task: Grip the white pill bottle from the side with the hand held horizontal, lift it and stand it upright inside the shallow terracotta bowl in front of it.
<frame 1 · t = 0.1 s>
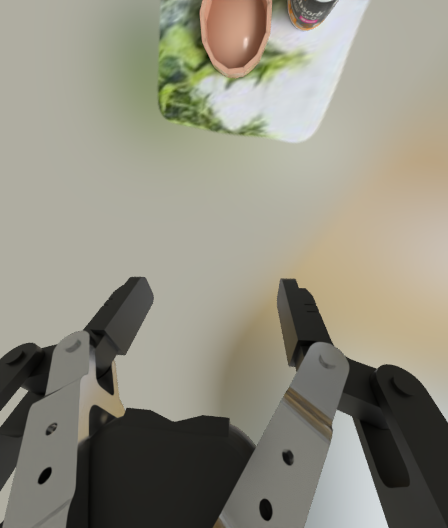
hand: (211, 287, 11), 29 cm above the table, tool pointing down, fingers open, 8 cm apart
bowl: (236, 32, 23), on the table
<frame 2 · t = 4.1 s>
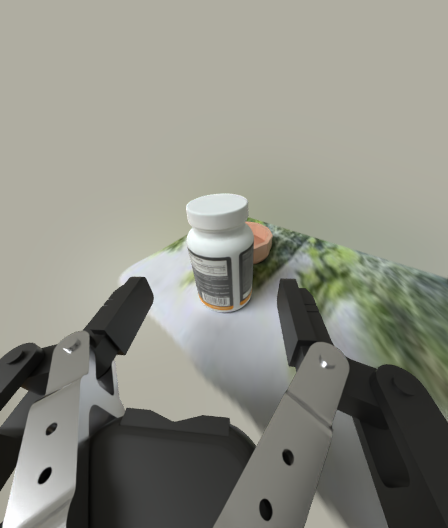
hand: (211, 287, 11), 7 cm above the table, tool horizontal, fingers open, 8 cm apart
pill bottle: (225, 295, 19), on the table
bowl: (240, 248, 26), on the table
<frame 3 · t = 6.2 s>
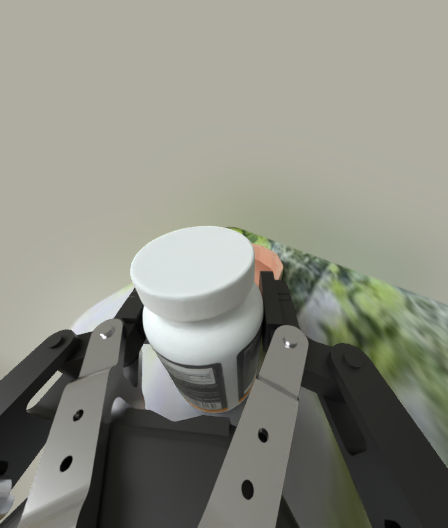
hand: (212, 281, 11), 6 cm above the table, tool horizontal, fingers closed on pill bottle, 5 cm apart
pill bottle: (216, 367, 13), on the table, touching gripper
bowl: (240, 281, 20), on the table
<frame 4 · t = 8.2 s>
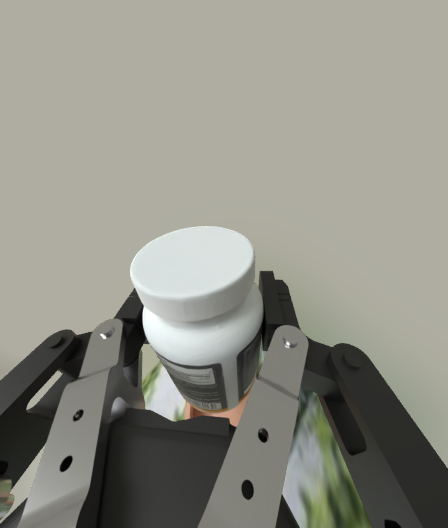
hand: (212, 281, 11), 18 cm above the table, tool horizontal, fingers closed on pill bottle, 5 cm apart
pill bottle: (216, 367, 13), point 11 cm above the table, touching gripper
bowl: (227, 408, 20), on the table
when the fingers open (8 cm above the table, at t = 10.5 s): pill bottle drops 1 cm, resting on bowl.
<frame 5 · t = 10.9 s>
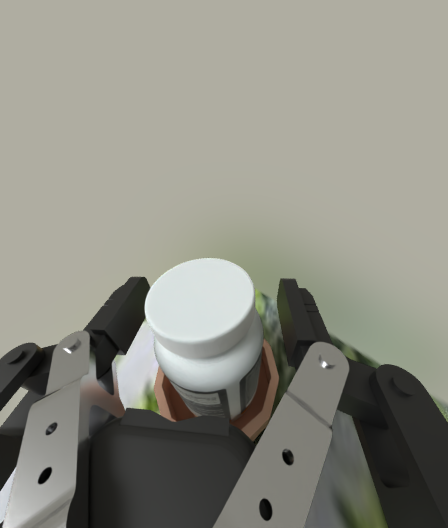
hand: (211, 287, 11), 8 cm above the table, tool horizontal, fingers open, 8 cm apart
pill bottle: (220, 379, 14), resting on bowl
bowl: (219, 379, 14), on the table
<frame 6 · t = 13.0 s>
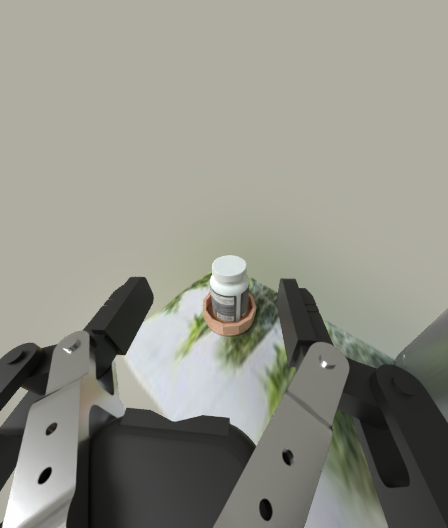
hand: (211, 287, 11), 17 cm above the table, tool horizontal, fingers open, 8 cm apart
pill bottle: (230, 312, 30), resting on bowl
bowl: (229, 313, 30), on the table
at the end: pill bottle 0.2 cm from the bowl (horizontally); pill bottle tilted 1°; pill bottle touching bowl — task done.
